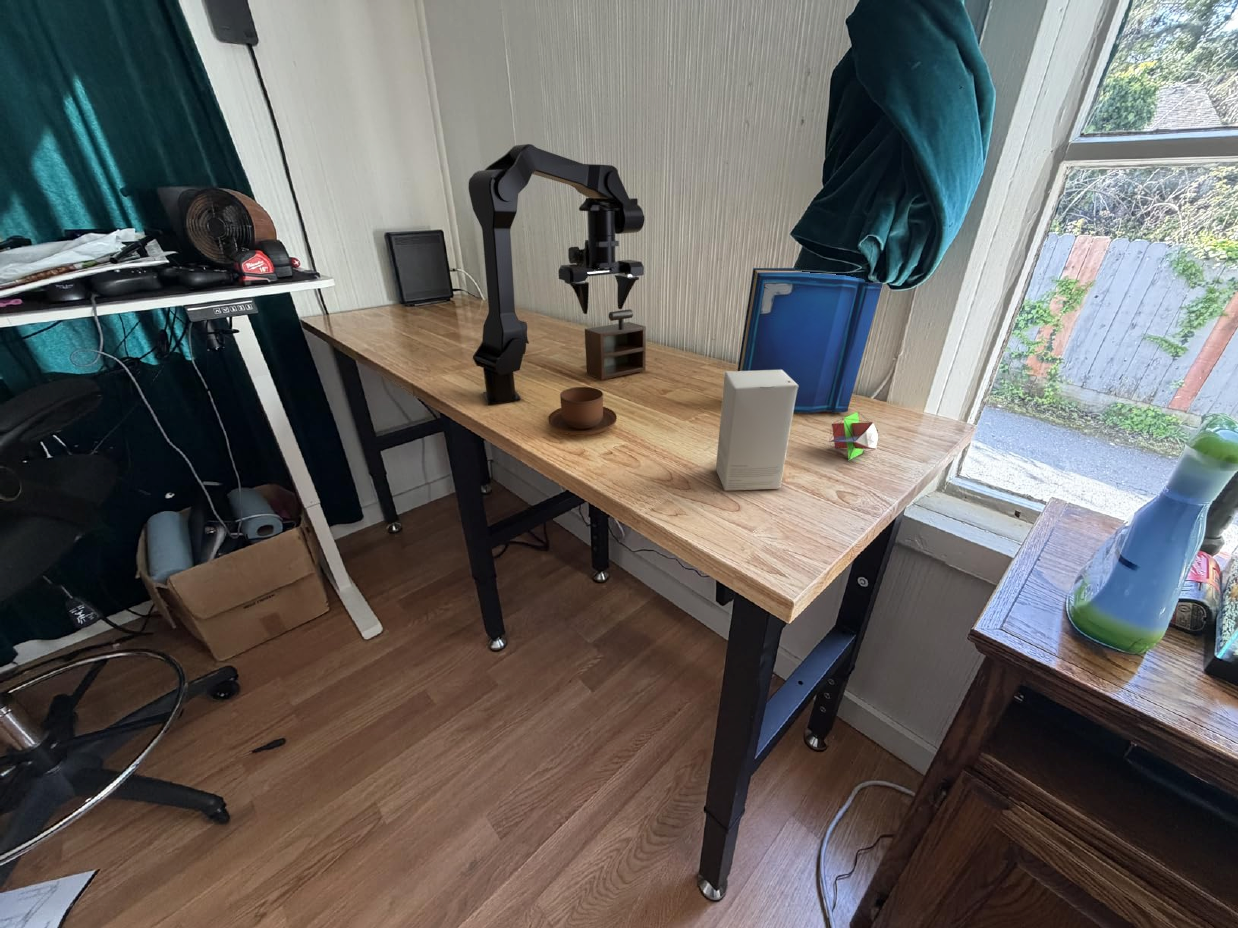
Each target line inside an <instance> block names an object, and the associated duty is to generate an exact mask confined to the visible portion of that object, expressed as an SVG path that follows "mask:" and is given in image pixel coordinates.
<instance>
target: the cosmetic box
mask: <svg viewBox="0 0 1238 928" xmlns="http://www.w3.org/2000/svg"><path fill="white" fill-rule="evenodd" d="M798 387H799V386H798V385H797V384H796V383H795V382H794V381H793V380H792V379H791V378H790V377H789V376H788V375H787V374H786V373H785V372H784V371H783V370H759V371H738V370H733V371H730V370H728V371H724V377H723V389H722V399H721V408H720V409H721V410H720V420H719V431H718V440H717V452H716V461H715V470H716V473H717V475H718V478H719V480H720V482H721V485H722V487H723V490H724V491H725V492H727V491H728V492H731V491H751V490H753V491H754V490H779V489H780V488H782V487H781V486H782V482H783V475H784V469H785V464H786V463H785V462H786V456H787V453H788V452H787V451H788V445H789V440H790V439H789V438H790V433H791V428H792V423H793V422H792V421H793V417H794V413H793V411H794V405H795V399H796V394H797V390H798Z"/></svg>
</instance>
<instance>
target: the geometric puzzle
mask: <svg viewBox="0 0 1238 928" xmlns="http://www.w3.org/2000/svg"><path fill="white" fill-rule="evenodd" d="M859 415H860V416H862V413H860V412H859V411H858V410H857V411H856V412H854V413H851V414H849V415H847V416H845V417H842V418H841V420H840V419H839V420H838V419H837V420H836V421H834V422H831V423H830V424H831V427H830V428H831V430H832V432H831V431H830V433H829V434H831V433H832V436H830V438H829V440H828V443H834V445H833V448H834V449H835V450H837V451H839V450H840V449H841V450H843V451H847V456H848V457H847V458H848V459H847V461H851V460H853V459H855V458H857V457H859V456H863V455H864V454H865V453H866V454H867V453H868V454H869V452H873V451H875V450H878V448H877V447H878V442H879V436H880V435H879V433H878V431H879V429H877V428H876V425H875V422H874V421H868V420H869V418H867V417H866V415H863V418H866V421H865V420H864V422H861V420H860V418H859ZM832 438H833V439H832ZM866 450H867V451H866ZM840 454H841V455H842V456H844V457H845V455H844V454H843V453H842V452H840Z"/></svg>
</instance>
